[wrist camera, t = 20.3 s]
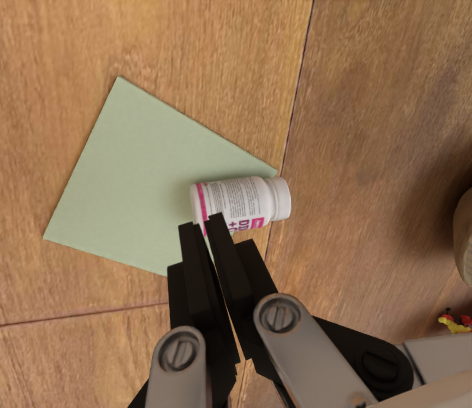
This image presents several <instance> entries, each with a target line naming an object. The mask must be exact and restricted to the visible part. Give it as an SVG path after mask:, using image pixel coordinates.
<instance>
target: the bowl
mask: <svg viewBox="0 0 472 408" xmlns="http://www.w3.org/2000/svg"><path fill="white" fill-rule="evenodd" d="M453 244H454V258H455V263H456V266H457V268H458V271H459V273H460V276H461V278H462V279H463V281H464V282H465V283H466V284H467V285H468V286H470V287H471V288H472V187H471V188H470V189H469V190H468V191H467V192H466V193H465V194H464V195H463V196H462V197H461V199H460V201H459V202H458V205H457V208H456V210H455V213H454V217H453Z"/></svg>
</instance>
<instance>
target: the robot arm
mask: <svg viewBox="0 0 472 408" xmlns="http://www.w3.org/2000/svg"><path fill="white" fill-rule="evenodd" d="M208 218H209V220H206V221H203V222H204V226H205V229H206V233H207V237H208V241H209V244H210V248H211V252H212V255H213V259H214V263H215V267H216V270H217V273H216V270H215V267H214V264H213V261H212V258H211V256H210V253H209V250H208V247H207V244H206V241H205V238H204V236H203V233H202V230H201V227H200V224H199V223H197V224H193V221H190V222H187V223H184V224H181V225H178V232H179V239H180V246H181V254H182V262H179V263H176V264H173V265H170V266H168V267H167V279H168V294H169V309H170V324H171V330H170V331H169V332H167V333H166V334H165V335H164V336H163V337H162V338H161V339H160V340H159V342H158V343H157V345H156V347H155V349H154V352H153V355H152V362H151V369H150V376H149V379H148V380H147V381H146V383H145V384H144V385H143V387H142V388H141V390H140V391H139V392H138V394H137V395H136V396H135V398H134V399H133V401H132V402H131V403H130V405H129V406H128V407H127V408H232V405H231V397H230V392H231V390H232V388H233V386H234V384H235V382H236V381H237V380H236V375H237V371H236V367H235V364H237V363H240V362H241V361H240V357H239V353H238V350H237V346H236V342H235V338H234V335H233V331H232V327H231V323H230V320H229V316H228V312H229V315H230V317H231V320H232V323H233V326H234V329H235V331H236V334H237V337H238V340H239V343H240V345H241V348H242V351H243V354H244V357H245V359H246V360H248V359H251V358H252V361H253V364H254V367H255V370H256V373H258V374H260V375H262V376H264V377H266V378H268V379H270V380H271V382H272V385H273V387H274V389H275V391H276V393H277V395H278V397H279V399H280V401H281V403H282V405H283V407H284V408H472V332H468V333H459V334H451V335H442V336H433V337H424V338H416V339H407V340H403V343H402V344H394V345H392V344H390V343H388V342H386V341H384V340H381V339H378V338H375V337H372V336H370V335H367V334H364V333H361V332H358V331H355V330H352V329H350V328H347V327H344V326H341V325H338V324H335V323H332V322H329V321H327V320H324V319H321V318H318V317H315V316H312V315H311V314H310V313H309V312H308V310H307V309H306V308H305V306H304V305H303V304H302V303H301V302H300V301H299V300H298V299H297V298H296V297H294V296H292V295H290V294H285V293H278V291H277V288H276V286H275V284H274V282H273V280H272V278H271V276H270V274H269V272H268V270H267V268H266V266H265V263H264V261H263V259H262V257H261V255H260V253H259V251H258V249H257V247H256V245H255V243H254V241H253V239H249V240H246V241H243V242H240V243H237V244H234V242H233V240H232V237H231V235H230V232H229V229H228V227H227V224H226V222H225V219H224V216H223V214H222V212H219V213H216V214H213V215H209V216H208ZM217 274H218V276H217ZM218 278H219V279H218ZM219 281H220V283H219ZM220 285H221V286H220ZM221 289H222V290H221ZM222 292H223V294H222ZM223 296H224V297H223ZM224 299H225V301H224ZM225 303H226V305H225ZM226 306H227V309H228V312H227V309H226Z"/></svg>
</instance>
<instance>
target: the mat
mask: <svg viewBox="0 0 472 408" xmlns="http://www.w3.org/2000/svg"><path fill="white" fill-rule="evenodd" d="M277 173H278V170H277V169H275V168H274V167H272V166H270V165H268V164H267V163H265V162H263V161H262V160H260V159H258V158H257V157H255V156H253V155H252V154H250V153H248V152H247V151H245V150H243V149H242V148H240V147H238V146H237V145H235V144H233V143H232V142H230V141H228V140H227V139H225V138H223V137H222V136H220V135H218V134H217V133H215V132H213V131H212V130H210V129H208V128H207V127H205V126H203V125H201V124H200V123H198V122H196V121H195V120H193V119H191V118H190V117H188V116H186V115H185V114H183V113H181V112H180V111H178V110H176V109H175V108H173V107H171V106H170V105H168V104H166V103H165V102H163V101H161V100H160V99H158V98H156V97H155V96H153V95H151V94H150V93H148V92H146V91H145V90H143V89H141V88H139V87H138V86H136V85H134V84H133V83H131V82H129V81H128V80H126V79H124V78H123V77H121V76H119V75H118V76H117V78H116V80H115V82H114V85H113V87H112V89H111V91H110V93H109V95H108V97H107V100H106V102H105V104H104V106H103V108H102V110H101V113H100V115H99V117H98V119H97V121H96V123H95V125H94V128H93V130H92V132H91V134H90V136H89V138H88V140H87V143H86V145H85V147H84V149H83V151H82V153H81V155H80V158H79V160H78V162H77V164H76V166H75V168H74V170H73V173H72V175H71V177H70V179H69V181H68V183H67V185H66V188H65V190H64V192H63V194H62V196H61V198H60V200H59V203H58V205H57V207H56V209H55V211H54V213H53V215H52V218H51V220H50V222H49V224H48V226H47V228H46V230H45V233H44V235H43V237H42V239H45V240H48V241H52V242H55V243H58V244H62V245H65V246H68V247H71V248H75V249H78V250H81V251H84V252H88V253H91V254H94V255H98V256H101V257H104V258H107V259H111V260H114V261H117V262H120V263H124V264H127V265H130V266H133V267H137V268H140V269H143V270H147V271H150V272H153V273H156V274H160V275H163V276H166V277H167V267H168V266H170V265H173V264H176V263H179V262H182V254H181V246H180V239H179V232H178V225H181V224H184V223H187V222H190V221H193V224H194V217H193V212H192V206H191V198H190V186H191V185H192V184H196V183H206V182H214V181H222V180H229V179H236V178H243V177H250V176H258V177H260V178H262V179H263V180H265V179H266V178H274V177H275V175H276V174H277ZM233 234H234V232H230V235H231V236H232V235H233ZM204 238H205V241H206V244H207V247H208V250H209V253H210V256H211V258H212V261H214V259H213V255H212V252H211V248H210V244H209V241H208V237H207V236H205V237H204Z"/></svg>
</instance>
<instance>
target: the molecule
mask: <svg viewBox="0 0 472 408" xmlns="http://www.w3.org/2000/svg"><path fill="white" fill-rule="evenodd" d="M450 309H451V308H446V310H447V313H448V311H450ZM461 318H462V319H458V318H456V317H454V318H452V317H451V316H450V315H448V314H443V315H442V316H441V317H440V318H439V319H438V321H439V322H440V323H444V324H445V325H447V326H448V329H449V330H450V331H451V333H452V334H457V333H458V334H459V333H468V332H472V330H471V328H469V327H468V325H467V323H468V324H469V325H472V320H471V319H470V317H469V316H466V315H462V316H461ZM466 325H467V326H466Z"/></svg>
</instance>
